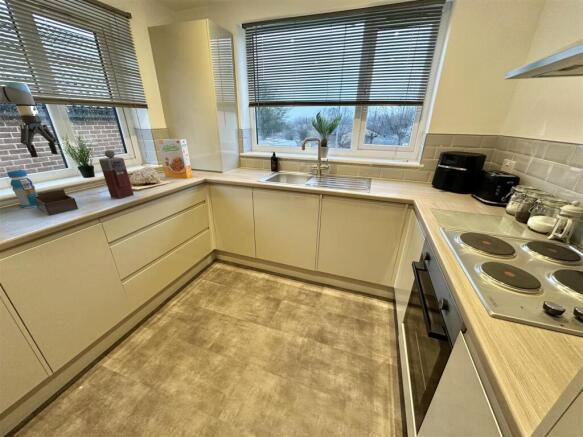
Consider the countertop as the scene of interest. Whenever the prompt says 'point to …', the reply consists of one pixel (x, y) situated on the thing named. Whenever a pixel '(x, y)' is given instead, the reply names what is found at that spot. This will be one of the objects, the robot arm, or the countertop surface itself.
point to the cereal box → (175, 158)
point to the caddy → (55, 202)
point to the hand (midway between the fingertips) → (45, 155)
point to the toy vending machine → (116, 176)
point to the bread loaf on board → (146, 178)
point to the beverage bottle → (23, 188)
